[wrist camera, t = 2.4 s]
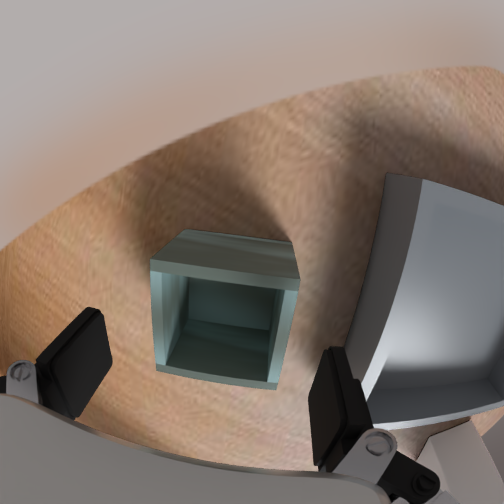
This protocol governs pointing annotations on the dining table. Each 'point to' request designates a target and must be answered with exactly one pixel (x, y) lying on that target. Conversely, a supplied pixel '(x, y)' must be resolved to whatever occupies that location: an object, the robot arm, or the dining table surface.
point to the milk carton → (463, 465)
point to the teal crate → (223, 307)
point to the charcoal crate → (431, 307)
